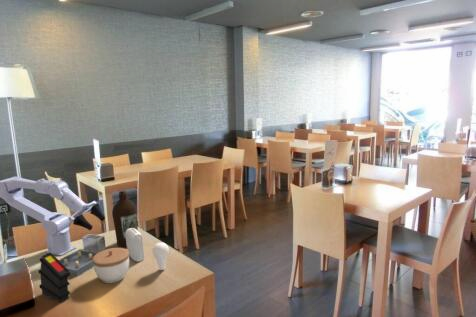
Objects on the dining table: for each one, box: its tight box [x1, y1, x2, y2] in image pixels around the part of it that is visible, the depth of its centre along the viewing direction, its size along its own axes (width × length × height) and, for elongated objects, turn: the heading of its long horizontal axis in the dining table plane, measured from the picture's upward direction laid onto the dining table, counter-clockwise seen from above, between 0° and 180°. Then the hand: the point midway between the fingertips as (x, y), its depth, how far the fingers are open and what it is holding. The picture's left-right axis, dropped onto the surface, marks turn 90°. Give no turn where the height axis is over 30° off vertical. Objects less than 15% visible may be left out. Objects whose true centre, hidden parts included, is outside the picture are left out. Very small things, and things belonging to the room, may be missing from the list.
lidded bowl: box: [93, 247, 130, 284], centre depth 122 cm, size 13×13×11 cm
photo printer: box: [125, 228, 145, 262], centre depth 138 cm, size 10×4×12 cm, turn 39°
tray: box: [58, 248, 98, 277], centre depth 134 cm, size 14×14×4 cm
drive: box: [81, 233, 107, 253], centre depth 147 cm, size 9×4×6 cm, turn 67°
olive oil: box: [111, 189, 139, 248], centre depth 151 cm, size 11×11×25 cm
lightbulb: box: [152, 242, 170, 271], centre depth 127 cm, size 6×6×11 cm
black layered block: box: [38, 253, 72, 303], centre depth 112 cm, size 4×13×15 cm, turn 60°
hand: (97, 224), depth 141 cm, fingers open, 7 cm apart
